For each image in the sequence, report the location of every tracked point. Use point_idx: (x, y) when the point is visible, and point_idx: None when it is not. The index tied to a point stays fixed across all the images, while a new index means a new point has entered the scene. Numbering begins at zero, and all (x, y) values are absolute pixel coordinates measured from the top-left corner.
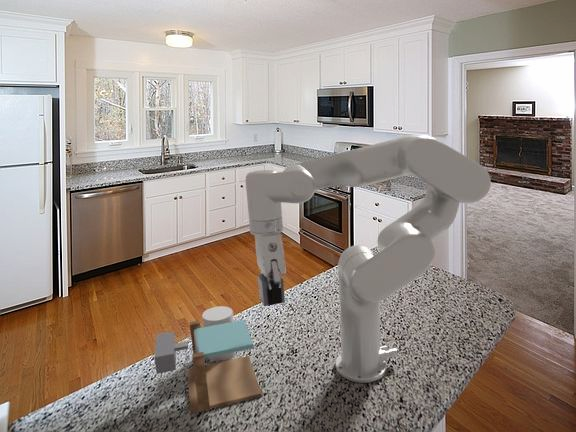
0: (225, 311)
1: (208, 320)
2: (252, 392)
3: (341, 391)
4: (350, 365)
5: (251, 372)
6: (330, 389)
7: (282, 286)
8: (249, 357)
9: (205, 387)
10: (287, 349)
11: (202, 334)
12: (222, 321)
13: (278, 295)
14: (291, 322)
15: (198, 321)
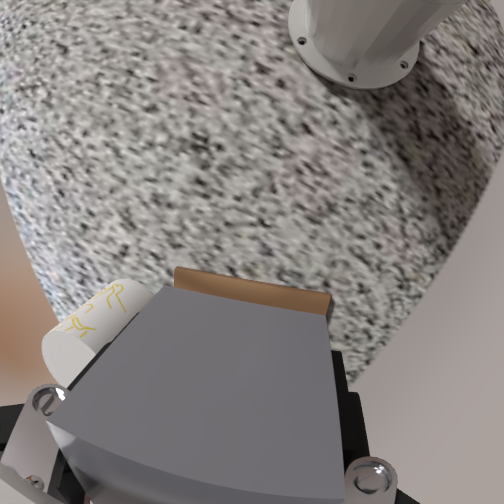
0: (69, 350)
1: None
2: (317, 313)
3: (411, 124)
4: (387, 63)
5: (245, 289)
6: (394, 141)
7: (335, 425)
8: (182, 270)
9: None
10: (182, 157)
11: None
12: None
13: (362, 423)
14: (76, 104)
15: None
